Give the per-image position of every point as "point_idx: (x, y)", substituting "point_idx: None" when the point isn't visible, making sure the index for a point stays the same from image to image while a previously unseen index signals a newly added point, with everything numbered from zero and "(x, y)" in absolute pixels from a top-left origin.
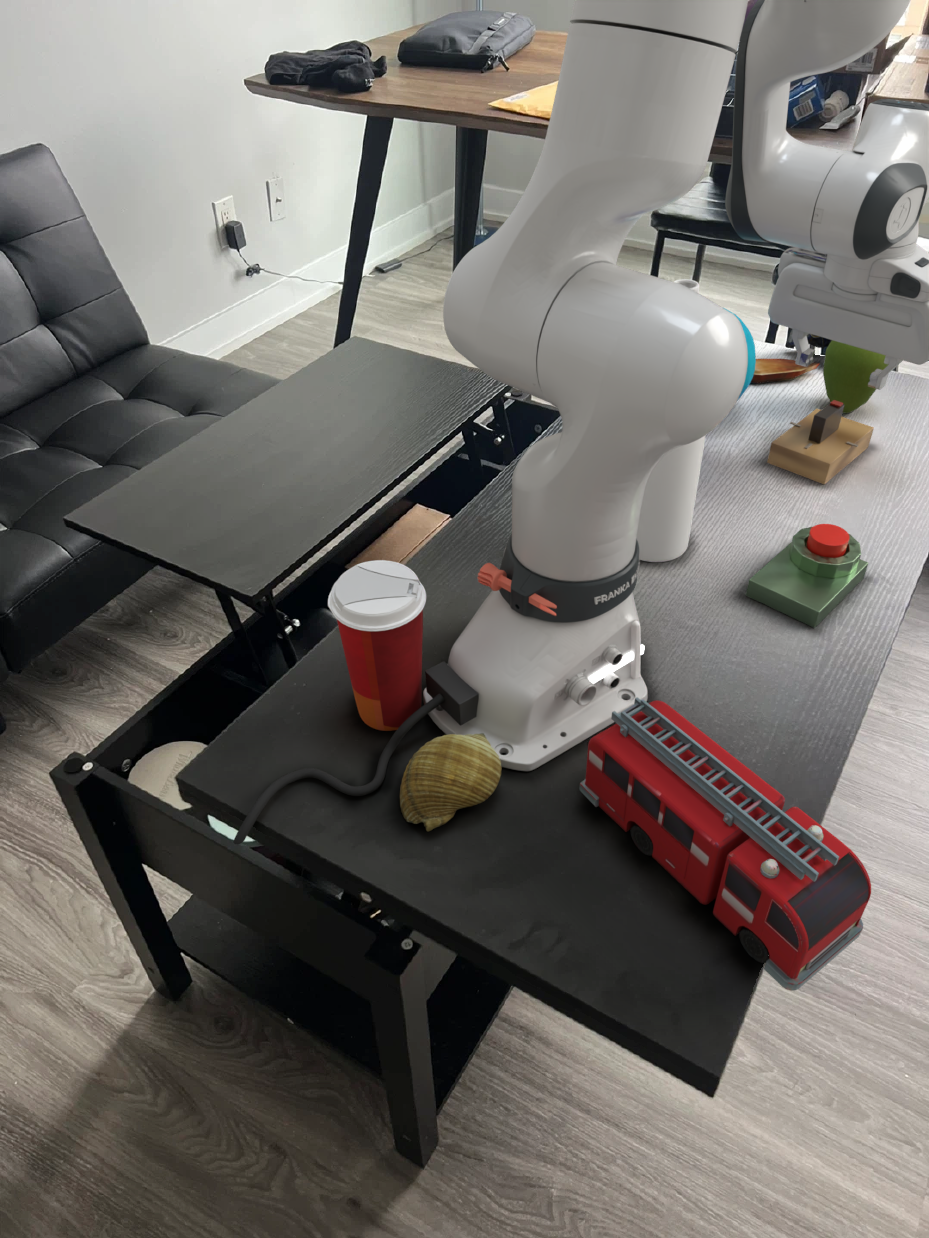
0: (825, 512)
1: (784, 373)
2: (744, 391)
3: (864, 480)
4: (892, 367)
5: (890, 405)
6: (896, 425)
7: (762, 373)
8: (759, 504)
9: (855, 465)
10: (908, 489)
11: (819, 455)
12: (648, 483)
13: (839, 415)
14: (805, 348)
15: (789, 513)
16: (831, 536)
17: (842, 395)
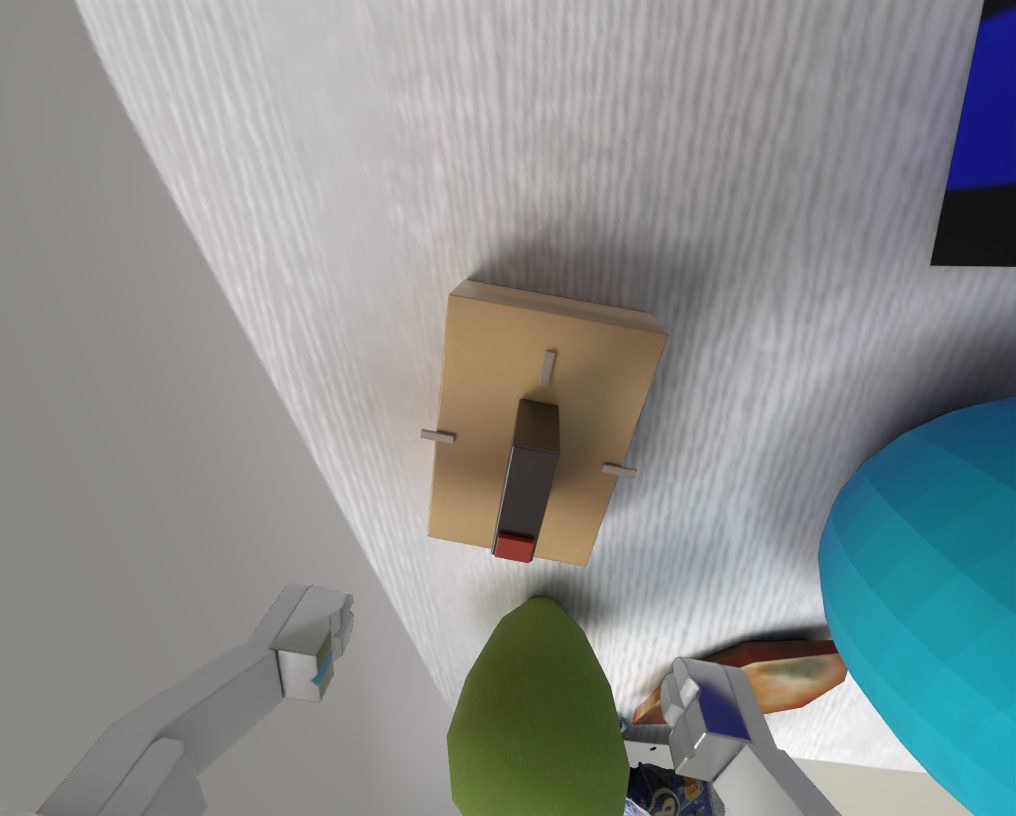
0: (401, 112)
1: None
2: (835, 544)
3: (388, 358)
4: (134, 717)
5: (466, 645)
6: (428, 591)
7: (752, 668)
8: (612, 13)
9: (435, 415)
10: (290, 369)
11: (496, 330)
12: None
13: (497, 516)
14: (738, 779)
15: (497, 19)
16: None
17: (542, 629)
